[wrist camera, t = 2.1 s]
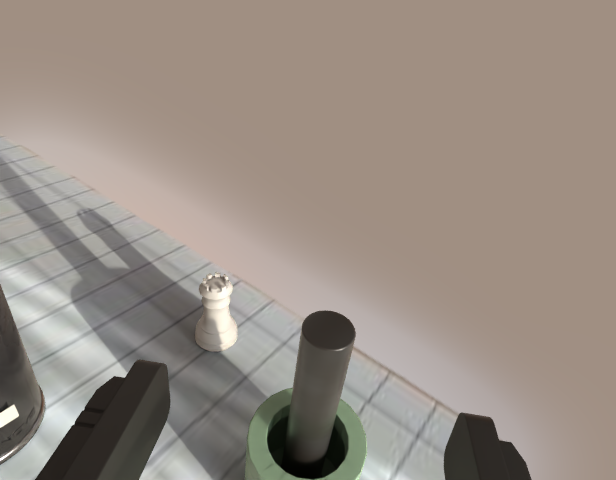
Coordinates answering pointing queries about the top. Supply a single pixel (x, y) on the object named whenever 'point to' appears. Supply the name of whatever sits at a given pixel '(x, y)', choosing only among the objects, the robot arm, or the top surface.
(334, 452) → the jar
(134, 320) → the top surface
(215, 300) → the rook chess piece
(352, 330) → the rod
